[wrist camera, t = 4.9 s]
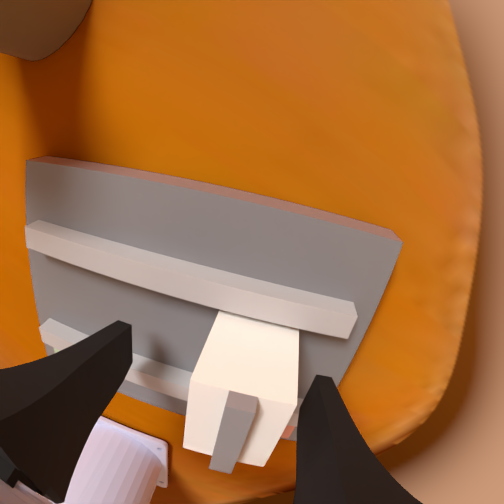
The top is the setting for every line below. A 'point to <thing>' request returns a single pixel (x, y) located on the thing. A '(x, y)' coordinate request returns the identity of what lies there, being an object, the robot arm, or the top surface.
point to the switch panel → (195, 270)
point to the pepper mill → (38, 26)
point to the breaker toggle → (242, 391)
